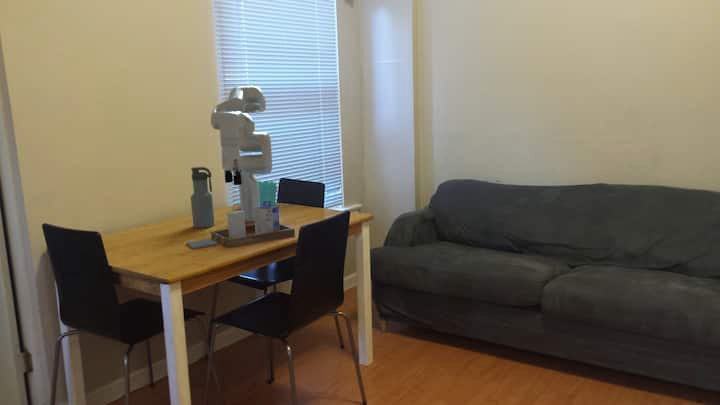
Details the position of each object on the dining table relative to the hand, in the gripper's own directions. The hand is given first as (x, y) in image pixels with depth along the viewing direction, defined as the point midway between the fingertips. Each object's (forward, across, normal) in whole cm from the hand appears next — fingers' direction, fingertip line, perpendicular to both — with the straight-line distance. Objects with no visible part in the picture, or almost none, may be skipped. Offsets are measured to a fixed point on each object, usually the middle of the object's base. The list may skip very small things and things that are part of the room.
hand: (233, 183), depth 248 cm
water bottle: (+24, -37, -2) cm, 44 cm away
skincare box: (+24, 0, 0) cm, 24 cm away
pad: (+24, -2, -15) cm, 29 cm away
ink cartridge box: (+24, 0, +14) cm, 28 cm away
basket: (+24, -63, +38) cm, 78 cm away
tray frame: (+24, 0, +7) cm, 25 cm away
